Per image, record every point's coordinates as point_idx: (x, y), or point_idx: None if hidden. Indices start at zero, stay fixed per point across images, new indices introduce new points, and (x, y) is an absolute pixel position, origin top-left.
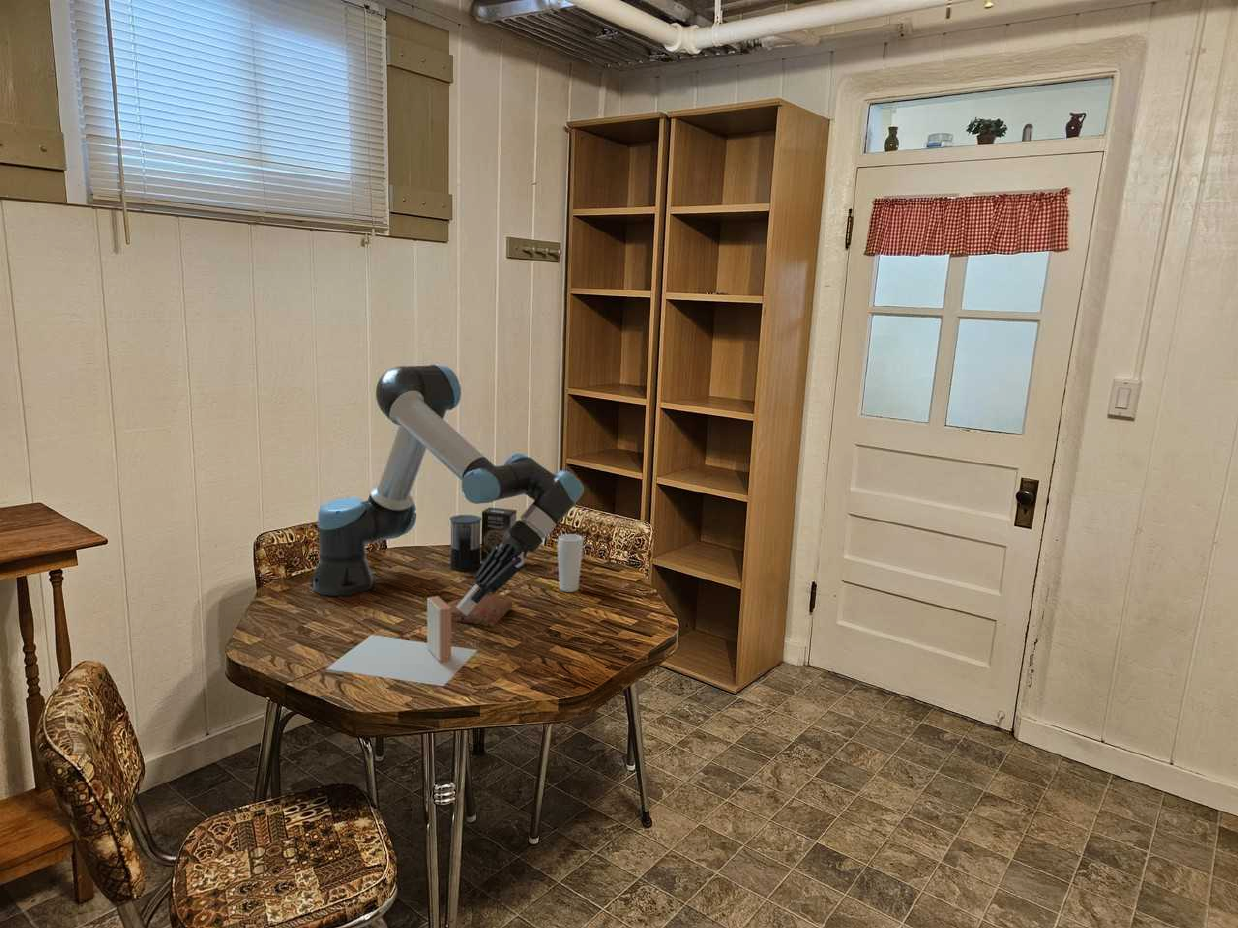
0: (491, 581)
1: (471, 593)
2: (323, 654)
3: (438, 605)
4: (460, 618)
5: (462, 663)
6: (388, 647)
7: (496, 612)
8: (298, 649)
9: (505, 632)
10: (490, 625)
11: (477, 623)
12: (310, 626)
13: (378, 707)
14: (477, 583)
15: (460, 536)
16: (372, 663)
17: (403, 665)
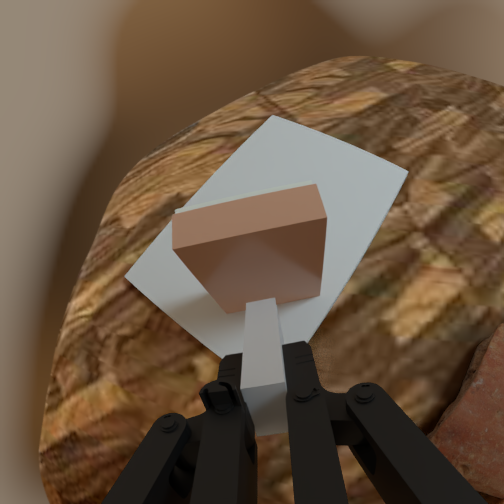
0: (149, 450)
1: (245, 351)
2: (343, 115)
3: (217, 209)
4: (471, 368)
5: (203, 337)
6: (341, 194)
7: (460, 470)
8: (366, 94)
9: None
10: None
11: (444, 415)
12: (450, 111)
13: (128, 184)
14: (289, 394)
15: None
16: (270, 167)
17: None
